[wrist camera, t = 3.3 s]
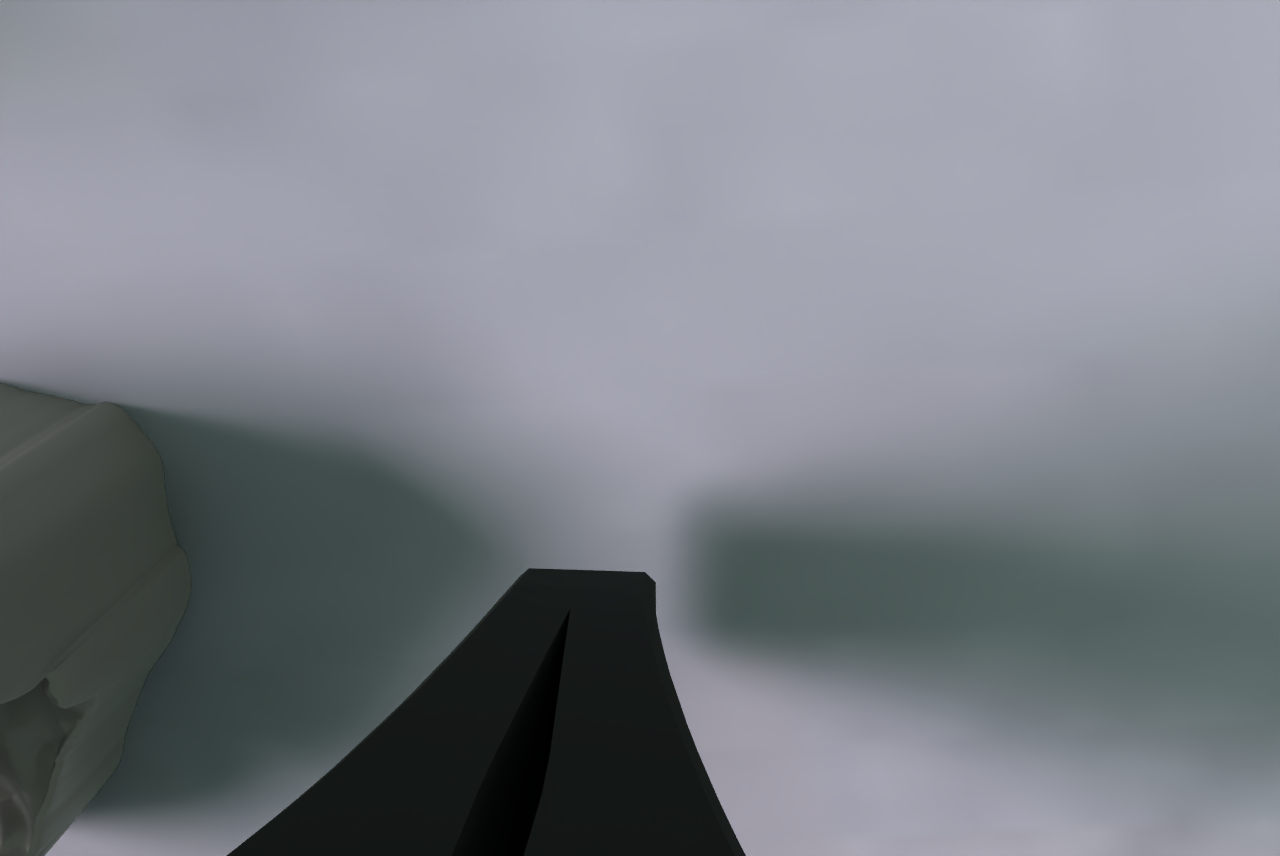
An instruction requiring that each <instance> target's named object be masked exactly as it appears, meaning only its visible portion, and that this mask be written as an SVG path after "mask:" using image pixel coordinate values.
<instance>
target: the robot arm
mask: <svg viewBox="0 0 1280 856" xmlns="http://www.w3.org/2000/svg"><path fill="white" fill-rule="evenodd" d="M227 856H746V855H745V853H744V851H743V849H742V848H741V846H740V844H739V842H738V840H737V838H736V835H735V833H734V831H733V829H732V827H731V825H730V823H729V821H728V819H727V817H726V815H725V813H724V810H723V808H722V806H721V804H720V802H719V800H718V797H717V795H716V793H715V791H714V788H713V786H712V784H711V781H710V779H709V777H708V774H707V772H706V770H705V767H704V765H703V763H702V760H701V758H700V756H699V753H698V751H697V748H696V746H695V743H694V741H693V738H692V736H691V733H690V730H689V728H688V725H687V723H686V720H685V717H684V714H683V711H682V708H681V705H680V702H679V699H678V696H677V693H676V690H675V687H674V685H673V682H672V679H671V676H670V672H669V669H668V665H667V662H666V658H665V655H664V650H663V646H662V642H661V638H660V633H659V629H658V623H657V618H656V582H655V581H654V580H653V579H652V578H650V577H649V576H648V575H647V574H646V573H645V572H623V571H593V570H562V569H531V568H529V569H528V570H527V571H526V572H524V573H523V574H522V575H521V576H520V577H519V578H518V579H517V580H516V581H515V582H514V584H513V585H512V586H511V587H510V588H509V589H508V590H507V591H506V593H505V594H504V595H503V596H502V597H501V598H500V599H499V601H498V602H497V603H496V604H495V605H494V606H493V607H492V609H491V610H490V611H489V612H488V613H487V614H486V615H485V616H484V618H483V619H482V620H481V621H480V622H479V623H478V624H477V625H476V626H475V628H474V629H473V630H472V631H471V632H470V633H469V634H468V635H467V636H466V637H465V638H464V640H463V641H462V642H461V643H460V644H459V645H458V646H457V647H456V648H455V649H454V650H453V651H452V652H451V654H450V655H449V656H448V657H447V658H446V659H445V660H444V661H443V662H442V663H441V664H440V665H439V666H438V667H437V668H436V669H435V670H434V671H433V672H432V673H431V674H430V675H429V676H428V677H427V678H426V679H425V680H424V681H423V683H422V684H421V685H420V686H419V687H418V688H417V689H416V690H415V691H414V692H413V693H412V694H411V695H410V696H409V697H408V698H407V699H406V700H405V701H404V702H403V703H402V704H401V705H400V706H399V707H398V708H397V709H396V710H395V711H394V712H393V713H391V714H390V715H389V716H388V717H387V718H386V719H385V720H384V721H383V722H382V723H381V724H380V725H379V726H378V727H376V728H375V729H374V730H373V731H372V732H371V733H370V734H369V735H368V736H367V737H366V738H365V739H364V740H363V741H362V742H360V743H359V744H358V745H357V746H356V747H355V748H354V749H353V750H352V751H351V752H350V753H349V754H348V755H347V756H345V757H344V758H343V759H342V760H341V761H340V762H339V763H338V764H337V765H336V766H335V767H333V768H332V769H331V770H330V771H329V772H328V773H327V774H326V775H324V776H323V777H322V778H321V779H320V780H319V781H317V782H316V783H315V784H314V785H313V786H312V787H311V788H309V789H308V790H307V791H306V792H305V793H304V794H302V795H301V796H300V797H299V798H298V799H296V800H295V801H294V802H293V803H292V804H290V805H289V806H288V807H287V808H286V809H284V810H283V811H282V812H281V813H280V814H278V815H277V816H276V817H275V818H273V819H272V820H271V821H270V822H268V823H267V824H266V825H265V826H263V827H262V828H261V829H260V830H258V831H257V832H256V833H255V834H253V835H252V836H251V837H250V838H248V839H247V840H246V841H245V842H243V843H242V844H241V845H240V846H238V847H237V848H236V849H235V850H233V851H232V852H231V853H229V854H228V855H227Z"/></svg>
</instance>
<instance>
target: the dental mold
mask: <svg viewBox="0 0 1280 856" xmlns="http://www.w3.org/2000/svg"><path fill="white" fill-rule="evenodd" d="M190 591H191V575H190V570H189V565H188V560H187V556H186V553H185V551H184V550H183V549H182V548H181V547H179V546H178V545H177V540H176V536H175V534H174V531H173V529H172V525H171V521H170V516H169V512H168V507H167V500H166V488H165V478H164V469H163V464H162V461H161V458H160V455H159V453H158V451H157V449H156V448H155V446H154V445H153V443H152V442H151V441H150V439H149V438H148V437H147V436H146V435H145V433H144V432H143V431H142V430H141V428H140V427H139V426H138V425H137V424H136V423H135V421H134V420H133V419H132V418H131V416H130V415H129V414H128V413H127V412H126V411H125V410H124V409H122V408H121V407H119V406H118V405H116V404H114V403H111V402H103V403H100V404H87V405H85V404H81V403H78V402H75V401H71V400H67V399H62V398H57V397H53V396H49V395H45V394H39V393H33V392H27V391H23V390H20V389H17V388H14V387H11V386H8V385H5V384H1V383H0V856H45V855H46V853H47V852H48V851H49V850H50V849H51V848H52V846H53V845H54V844H55V843H56V842H57V841H58V839H59V838H60V837H61V836H62V835H63V833H64V832H65V831H66V830H67V829H68V828H69V826H70V825H71V824H72V823H73V822H74V820H75V819H76V818H77V817H78V816H79V814H80V813H81V812H82V811H83V810H84V808H85V807H86V806H87V805H88V804H89V802H90V801H91V800H92V799H93V798H94V796H95V795H96V794H97V793H98V792H99V790H100V789H101V788H102V787H103V785H104V784H105V783H106V781H107V780H108V779H109V778H110V776H111V775H112V773H113V772H114V771H115V769H116V768H117V767H118V764H119V762H120V760H121V756H122V752H123V747H124V736H125V732H126V730H127V727H128V725H129V722H130V720H131V717H132V714H133V712H134V709H135V706H136V703H137V700H138V697H139V695H140V693H141V690H142V688H143V686H144V683H145V680H146V678H147V676H148V674H149V672H150V671H151V669H152V667H153V666H154V664H155V663H156V662H157V660H158V659H159V657H160V656H161V655H162V653H163V652H164V650H165V649H166V647H167V646H168V644H169V643H170V641H171V639H172V638H173V636H174V633H175V631H176V628H177V626H178V624H179V622H180V620H181V618H182V617H183V615H184V613H185V611H186V607H187V603H188V600H189V595H190Z"/></svg>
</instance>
